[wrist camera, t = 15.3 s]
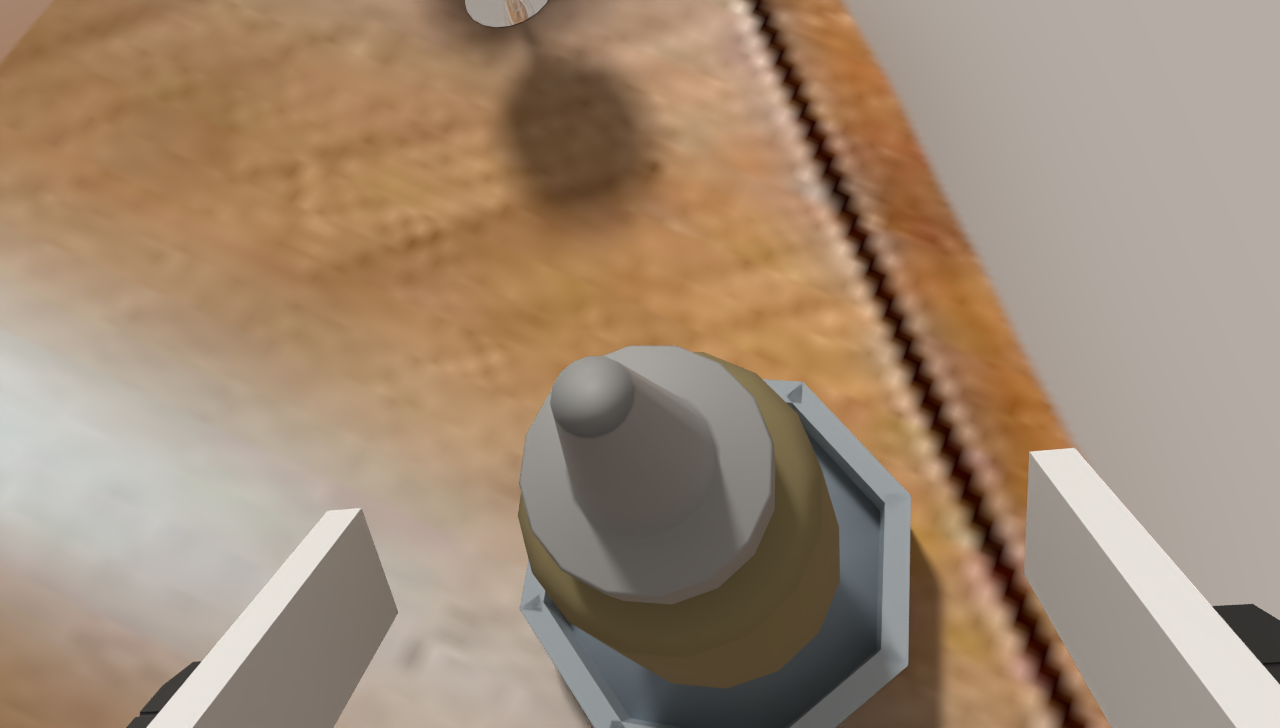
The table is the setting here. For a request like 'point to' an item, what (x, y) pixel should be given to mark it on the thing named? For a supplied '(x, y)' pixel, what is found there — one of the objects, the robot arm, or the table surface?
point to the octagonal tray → (825, 667)
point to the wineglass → (502, 11)
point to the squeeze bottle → (679, 514)
